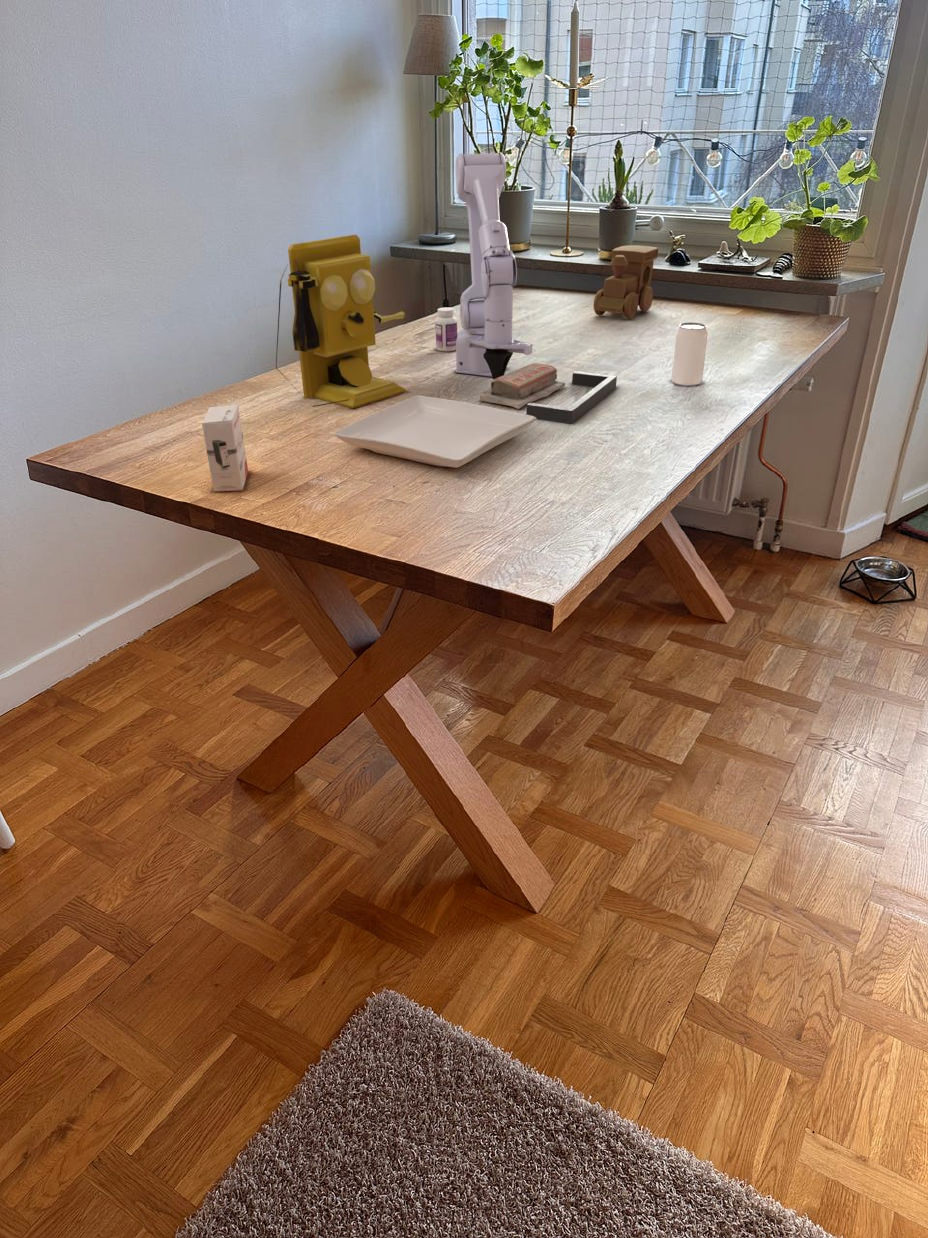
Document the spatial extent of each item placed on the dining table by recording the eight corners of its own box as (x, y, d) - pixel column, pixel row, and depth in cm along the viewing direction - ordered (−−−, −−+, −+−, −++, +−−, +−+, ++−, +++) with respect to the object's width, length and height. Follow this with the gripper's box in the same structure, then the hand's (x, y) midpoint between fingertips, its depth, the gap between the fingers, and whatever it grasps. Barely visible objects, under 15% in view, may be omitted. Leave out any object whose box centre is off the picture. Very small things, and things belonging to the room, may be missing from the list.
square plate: (460, 480, 147) (460, 458, 145) (331, 452, 160) (329, 431, 158) (537, 433, 167) (538, 412, 165) (417, 410, 180) (416, 391, 178)
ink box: (220, 472, 152) (209, 404, 146) (249, 471, 153) (239, 403, 146) (212, 492, 145) (200, 421, 139) (242, 491, 145) (232, 420, 139)
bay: (526, 417, 175) (526, 404, 174) (574, 382, 195) (575, 370, 194) (571, 423, 171) (572, 410, 170) (616, 387, 191) (617, 375, 190)
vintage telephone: (316, 420, 175) (300, 257, 160) (273, 406, 183) (253, 250, 168) (428, 385, 195) (423, 236, 179) (385, 373, 203) (376, 230, 188)
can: (703, 379, 195) (710, 322, 189) (700, 387, 190) (707, 329, 184) (673, 376, 197) (679, 320, 191) (669, 385, 192) (675, 327, 186)
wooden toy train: (619, 304, 262) (624, 243, 253) (656, 308, 256) (662, 246, 248) (589, 318, 248) (592, 253, 239) (627, 322, 242) (632, 257, 234)
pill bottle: (458, 346, 223) (458, 306, 218) (456, 351, 218) (455, 311, 214) (437, 346, 224) (436, 306, 219) (434, 351, 219) (433, 311, 214)
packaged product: (526, 358, 194) (566, 365, 189) (526, 380, 196) (565, 388, 191) (478, 378, 181) (519, 386, 176) (478, 401, 184) (518, 410, 179)
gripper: (457, 319, 182) (459, 385, 189) (523, 326, 176) (521, 394, 183) (473, 312, 187) (474, 377, 194) (537, 318, 181) (535, 385, 188)
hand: (498, 385), depth 189 cm, fingers closed
